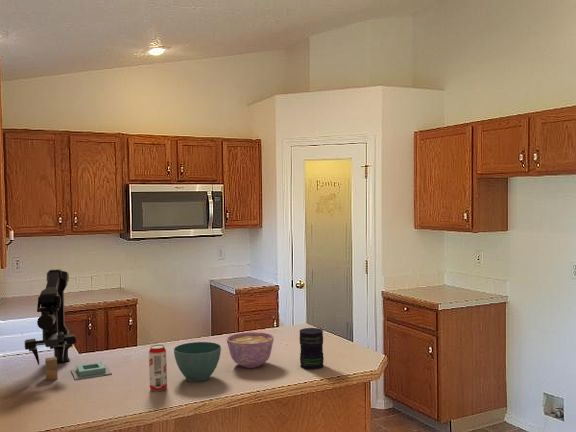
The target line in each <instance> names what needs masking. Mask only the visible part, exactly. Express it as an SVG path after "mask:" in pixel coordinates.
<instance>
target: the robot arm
mask: <svg viewBox="0 0 576 432" xmlns="http://www.w3.org/2000/svg"><path fill="white" fill-rule="evenodd" d="M69 279H70V277H69V272H67V271H63V270H62V269H59V268H57V269H49V270H48V271H47V272H46V284H45V285H46V286H45V288H44V289H43V290H41V292H40V295H39V296H38V297H37V307H36V312H37V313H41V314H40V316H39V317H38V318H37V321H36V324H37V327H38V328H39V329H41V330H42V331H41V332H42V339H41V340H40V339H39V340H37V339H36V338H28V339H25V340H24V349H25V351H26V350H28V351H29V352H32V354H33V355H34V357H35V360H36V362H37V365H38V366H40V358H39V353H38V348H37V346H45V347H46V348H49V350H52V349H53V355H54V356H53V357H56V358H57V364H60V363H68V362H70V361H71V360H70V357H69V349H70V348H72V347H73V345H74V344H77V338H76V337H77V336H76V335H75V334H74V333H72V334H71V333H70V331H69V328H68V326H67V325H66V323H65V321H66V319H65V318H66V317H65V290H66V288H67V286H68V283H69V281H70V280H69Z"/></svg>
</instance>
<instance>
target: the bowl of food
mask: <svg viewBox="0 0 576 432" xmlns="http://www.w3.org/2000/svg"><path fill="white" fill-rule="evenodd" d="M274 338H275V336H274V335H273V334H270V333H266V332H256V331H253V332H252V331H251V332H250V331H249V332H241V333H240V332H239V333H234V334H232V335H229V336H227V337H226V343H227V348H228V351H229V354H230V358H231V359H232V360H233V362H234V363H235V364H237V365H239V366H241V367H242V368H247V369H248V368H249V369H250V368H251V369H252V368H258V367H260V366H261V365H263V364H265V363H266V362H267V361H268V360H269V359H270V358H271V353H272V348H273V344H274Z"/></svg>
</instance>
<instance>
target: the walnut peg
mask: <svg viewBox="0 0 576 432" xmlns="http://www.w3.org/2000/svg"><path fill="white" fill-rule="evenodd" d="M44 362H45V363H44V364H45V380H46V382H47V381H53V380H56V381H57V380H58V377H59V376H58V363H57V358H56V357H54V356H52V357H51V356H50V357H45V361H44Z"/></svg>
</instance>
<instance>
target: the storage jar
mask: <svg viewBox="0 0 576 432" xmlns="http://www.w3.org/2000/svg"><path fill="white" fill-rule="evenodd" d="M323 333H324V331H323V329H322V328H317V327H306V328H302V329H300V330H299V344H300V347H299V348H300V352H299V361H300V363H299V364H300V368H301V369H302V370H306V371H307V370H308V371H313V370H314V371H315V370H316V371H317V370H320V369H323V368H324V366H325V365H324V361H325V358H324V349H323V345H324V334H323Z"/></svg>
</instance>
